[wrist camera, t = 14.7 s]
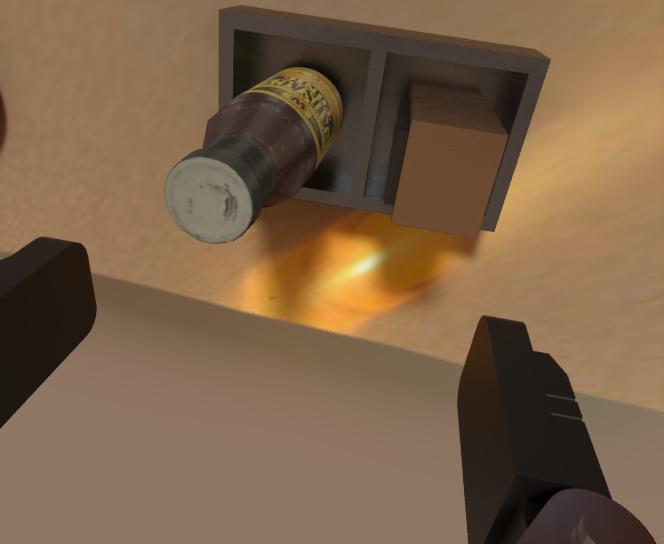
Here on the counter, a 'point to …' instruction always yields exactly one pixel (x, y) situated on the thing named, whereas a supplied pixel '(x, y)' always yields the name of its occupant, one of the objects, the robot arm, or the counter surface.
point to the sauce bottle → (254, 154)
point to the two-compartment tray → (399, 112)
